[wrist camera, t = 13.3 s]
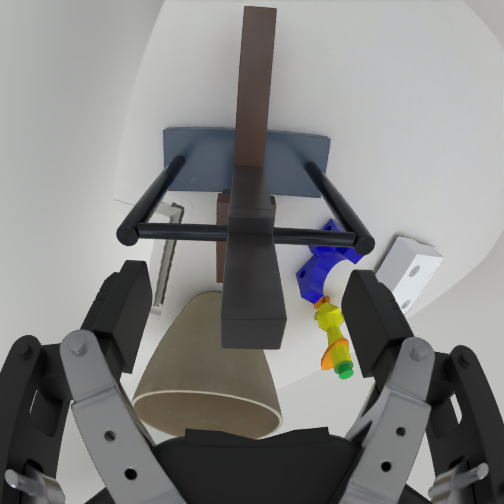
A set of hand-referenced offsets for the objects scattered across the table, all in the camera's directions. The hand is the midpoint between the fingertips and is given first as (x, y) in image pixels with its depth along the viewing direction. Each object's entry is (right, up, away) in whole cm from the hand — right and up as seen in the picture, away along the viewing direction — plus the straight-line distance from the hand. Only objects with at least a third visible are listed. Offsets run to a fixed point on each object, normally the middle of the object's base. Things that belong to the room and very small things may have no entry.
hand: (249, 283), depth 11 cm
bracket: (+19, -2, +24) cm, 31 cm away
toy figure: (+9, -5, +26) cm, 28 cm away
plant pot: (-5, -6, +26) cm, 27 cm away
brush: (0, +9, +9) cm, 12 cm away
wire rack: (-1, +10, +15) cm, 18 cm away
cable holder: (+8, +1, +21) cm, 22 cm away
